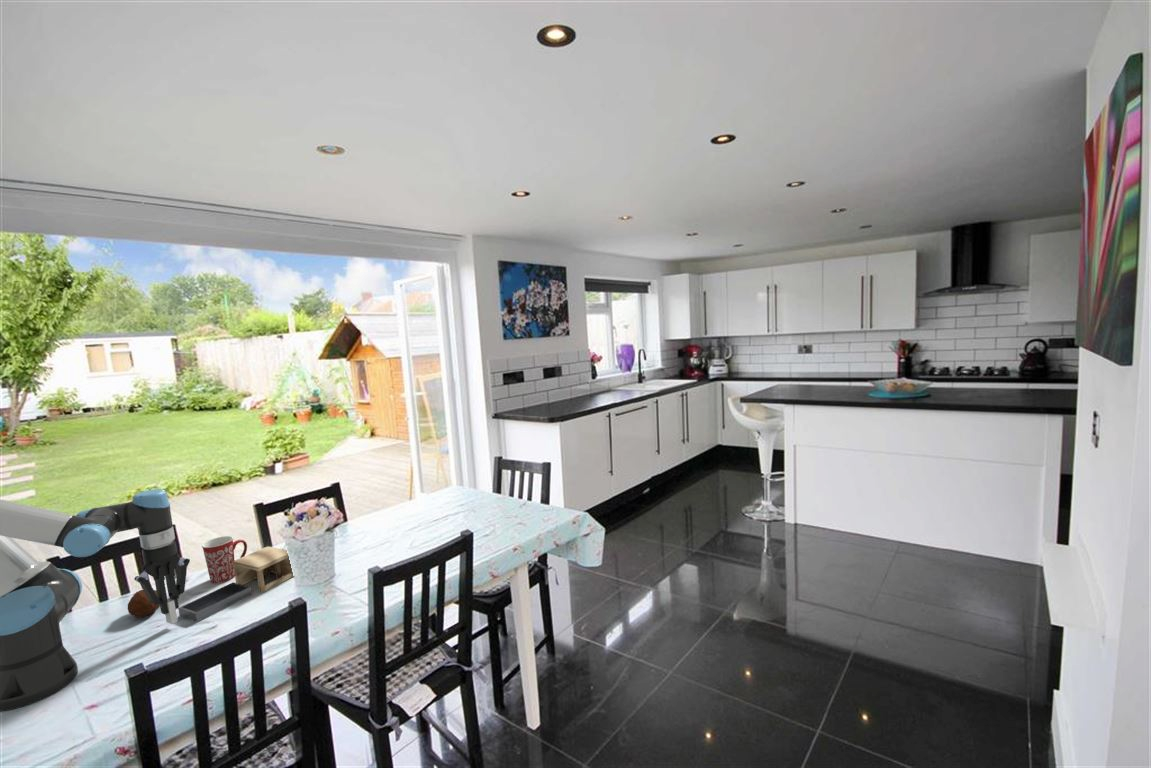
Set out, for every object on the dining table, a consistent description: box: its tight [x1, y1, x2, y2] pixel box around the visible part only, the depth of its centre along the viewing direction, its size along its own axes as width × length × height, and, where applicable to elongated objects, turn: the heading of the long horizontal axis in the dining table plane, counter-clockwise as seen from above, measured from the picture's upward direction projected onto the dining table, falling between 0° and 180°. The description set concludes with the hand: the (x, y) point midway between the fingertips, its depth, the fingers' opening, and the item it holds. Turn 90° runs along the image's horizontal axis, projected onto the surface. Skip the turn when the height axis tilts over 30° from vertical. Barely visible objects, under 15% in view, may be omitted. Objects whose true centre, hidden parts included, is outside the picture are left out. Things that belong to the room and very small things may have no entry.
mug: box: [201, 535, 248, 584], centre depth 177 cm, size 13×9×14 cm
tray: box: [177, 581, 252, 623], centre depth 158 cm, size 16×9×3 cm, turn 155°
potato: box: [127, 589, 160, 618], centre depth 156 cm, size 8×11×8 cm
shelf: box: [233, 545, 294, 594], centre depth 172 cm, size 12×13×9 cm
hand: (172, 621), depth 147 cm, fingers closed
